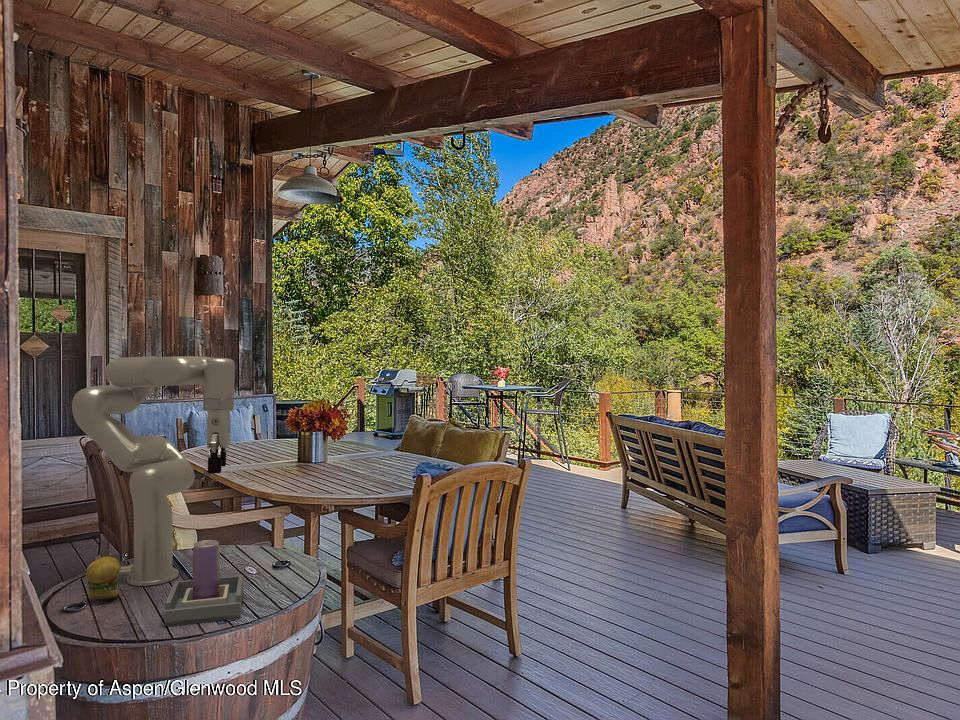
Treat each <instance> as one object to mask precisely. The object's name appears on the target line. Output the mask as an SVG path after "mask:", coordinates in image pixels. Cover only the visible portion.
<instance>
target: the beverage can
mask: <svg viewBox="0 0 960 720" xmlns="http://www.w3.org/2000/svg"><path fill="white" fill-rule="evenodd" d="M220 546H221V545H220V544H219V541H218V540H215V539H206V540H199V541H196V542H194V543H193V548H192V580H193V600H200V599H209V598H219V597H220V577H221V576H220V575H221V574H220V573H221V571H220V567H221V566H220V565H221V564H220V561H221V560H220V559H221V557H220V555H221V553H220V551H221V550H220V549H221V548H220Z"/></svg>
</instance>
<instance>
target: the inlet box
mask: <svg viewBox="0 0 960 720" xmlns="http://www.w3.org/2000/svg"><path fill="white" fill-rule="evenodd" d="M243 598H244V574H238V575H229V576H227V575H226V576H220V597H219V598H209V599H200V600H193V579H188V580H186V579H185V580H179V581H178V580H176V581H174V583H173V585H172V587H171V589H170V592H169V594H168V596H167V598H166V601H165V603H164V625H163V626H170V627H174V626H173V625H179V626H187V625H194V624H202V623H203V624H204V623H211V622H212V623H213V622H219V621H220V622H221V621H228V620H237V619H241V614H242V609H243V608H242V606H243V601H244V599H243ZM186 624H187V625H186Z"/></svg>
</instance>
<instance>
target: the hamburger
mask: <svg viewBox="0 0 960 720" xmlns="http://www.w3.org/2000/svg"><path fill="white" fill-rule="evenodd" d="M94 559H95V560H94V561H92V562H91V563H90V564H89V565H88V567H87V568H86V571H85V577H86V579H87V581H88V582H87V585H88V587H87V589H88V597H89V598H91V599H93V600H110V599H113V598H116V597H117V596H118V595H119V593H120V590H119V589H117V586H119V584H120V583H119V582H118V580H119V579H120V578H119V576H118V575H119V574H118V573H119V572H120V569H121V566H122V564H121V562H120V560H118V558H116V557H113V556H102V557H101V555H98V556H95V557H94Z"/></svg>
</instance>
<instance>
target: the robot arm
mask: <svg viewBox="0 0 960 720" xmlns="http://www.w3.org/2000/svg"><path fill="white" fill-rule="evenodd" d="M235 371H236V363H235V361H234V360H233V359H232V358H227V357H226V358H225V357H210V356H198V355H197V356H196V355H194V356H190V355H189V356H188V355H187V356H186V355H185V356H184V355H183V356H182V355H181V356H178V355H177V356H156V355H155V356H154V355H151V356H149V355H148V356H130V357H129V356H128V357H118V358H115V359H113V360H112V361H110V362H109V363H108V364H107V365H106V367H105V369H104V376H105V379H106V380H107V382H108V383H109V384H111V385H94V386H89V387H85V388H82V389H80V390H78V391H77V392H76V393H75V394H74V396H73V398H72V402H71V410H72V415H73V419H74V421H75V423H76V424H77V426H78V427H79V429H81V431H82V432H84V433H85V435H87V436H88V437H89V438H90V439H91V440H93V442H94V443H96V444H97V446H98V447H99V448H100V450H102V452H104V454H105V455H106V456H107V458H109V459H110V460H111V462H112V463H113V464H114V465H115V466H116V467H117V468H118V469H119V470H120V471H122V472H124V473H125V472H126V473H129V472H131V475H130V477H129V482H128V484H129V491H130V494H131V499H132V508H133V509H132V510H133V563H130V564H129V565H121V569H120V572H119V573H118V574H117V575H119V576H125V575H128V576H127V580H126V582H127V583H128V585H131V586H137V587H149V586H156V585H161V584H165V583H168V582H171V581H174V580H176V578H177V577H178V576H179V575H180V574H179V573H180V572H179V570H178V569H177V568H175V567H173V564H174V563H173V555H174V554H173V551H174V550H173V545H174V544H173V536H174V535H173V529H174V528H173V524H174V523H173V509H172V506H171V505H170V502H169V501H168V500H167V497H168V496H170V495H175V494H179V493H182V492H185V491H187V490H188V489H190V488H191V487H192V485H193V484H194V482H195V480H196V479H195V471H194V468H193V466H192V464H191V463H190V461H189V460H188V459H187V458H186V457H185V456H184V455H183V454H182V453H181V452H180V451H179V449H177V447H175V445H174V444H173V443H172V442H171V441H170V440H169V439H167V438H166V437H164V436H162V435H159V434H151V435H136V434H134V433H133V432H132V431H131V430H130V429H129V428H128V427H127V425H125V424H124V423H123V422H122V421H120V420H119V419H116V418H114V417H113V416H111V415H118V414H121V415H122V414H128V413H132V412H133V411H135V410H136V409H137V408H138V407H139V406H140V405H141V404H142V403H143V402H144V400H145V399H146V398H147V397H148V395H149V394H150V393H151V392H152V391H153V390H154V388H158V387H161V386H162V387H163V386H165V387H166V386H169V387H170V386H189V385H191V386H193V385H194V386H195V385H203V392H202V393H203V396H202V398H203V399H202V405H203V406H202V411H204V412H207V415H206V416H207V418H206V421H207V422H206V448H207V449H208V457H207V474H221V473H222V467H226V465H227V449H228V448H229V446H230V445H231V443H232V442H231V412H232V411H234V410H235V380H236V379H235V376H236V375H235V373H236V372H235Z"/></svg>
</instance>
